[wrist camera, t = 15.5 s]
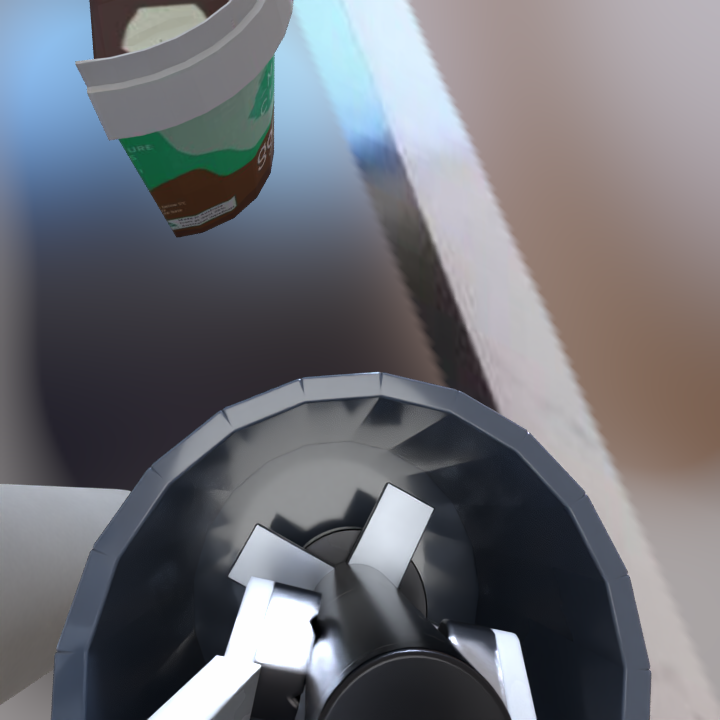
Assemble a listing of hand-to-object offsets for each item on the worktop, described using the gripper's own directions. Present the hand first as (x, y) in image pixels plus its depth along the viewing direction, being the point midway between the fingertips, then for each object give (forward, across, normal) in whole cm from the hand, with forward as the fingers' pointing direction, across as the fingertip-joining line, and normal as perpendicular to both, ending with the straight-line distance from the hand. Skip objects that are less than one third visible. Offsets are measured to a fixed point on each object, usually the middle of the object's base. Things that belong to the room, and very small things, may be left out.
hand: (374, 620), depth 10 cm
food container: (+19, +9, -6) cm, 22 cm away
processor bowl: (+6, 0, +7) cm, 9 cm away
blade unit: (+3, 0, +4) cm, 5 cm away
